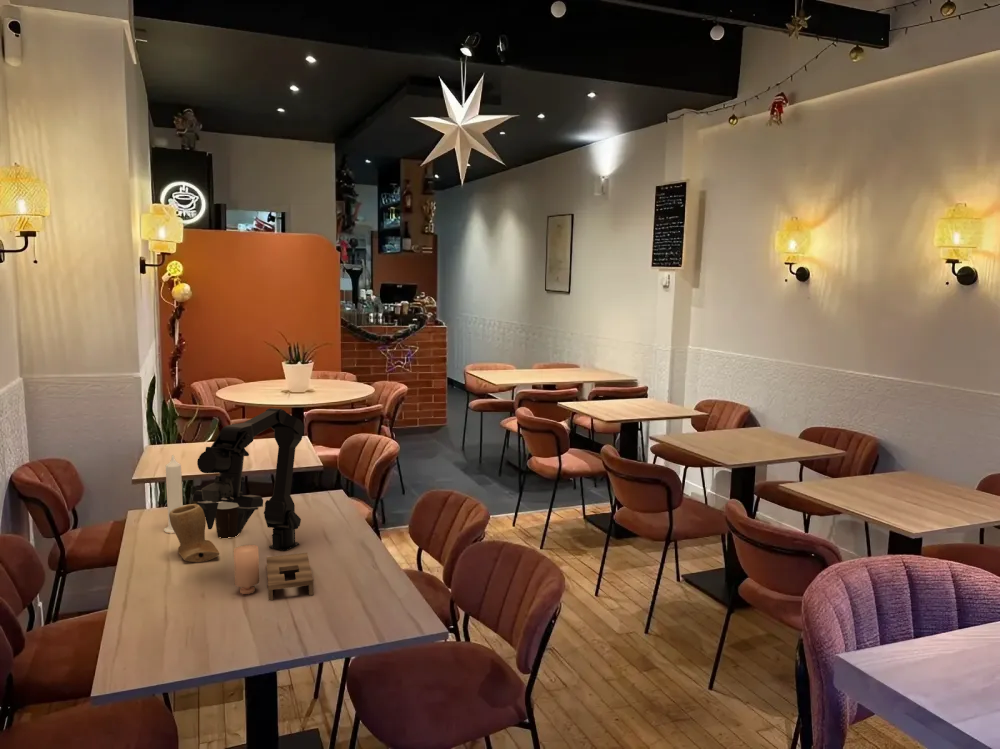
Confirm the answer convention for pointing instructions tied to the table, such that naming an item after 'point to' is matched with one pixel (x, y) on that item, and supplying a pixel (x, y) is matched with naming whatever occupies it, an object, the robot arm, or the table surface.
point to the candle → (173, 488)
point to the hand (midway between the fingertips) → (224, 531)
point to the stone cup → (192, 533)
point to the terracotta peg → (246, 568)
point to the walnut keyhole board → (287, 564)
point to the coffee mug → (226, 519)
